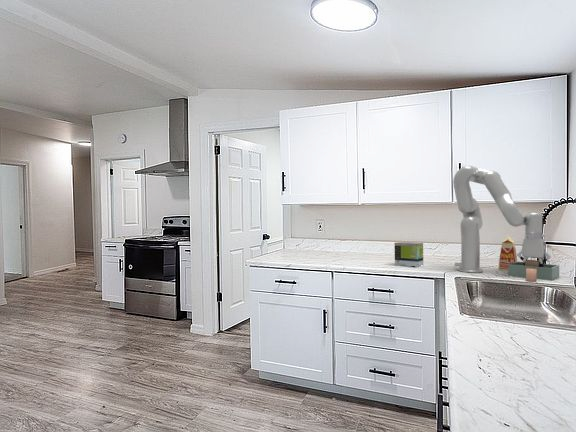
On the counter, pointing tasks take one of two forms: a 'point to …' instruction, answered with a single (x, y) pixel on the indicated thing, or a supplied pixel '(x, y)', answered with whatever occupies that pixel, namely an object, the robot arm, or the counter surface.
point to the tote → (542, 272)
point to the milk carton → (507, 254)
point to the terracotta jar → (531, 275)
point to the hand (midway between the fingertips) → (533, 270)
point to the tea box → (409, 253)
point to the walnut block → (532, 263)
